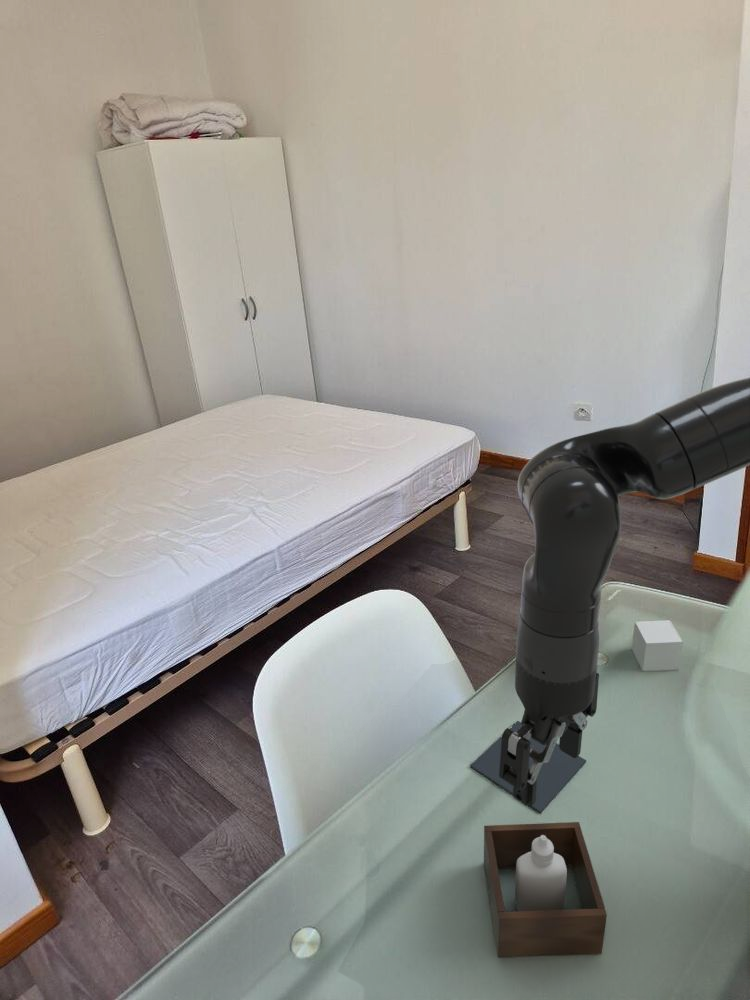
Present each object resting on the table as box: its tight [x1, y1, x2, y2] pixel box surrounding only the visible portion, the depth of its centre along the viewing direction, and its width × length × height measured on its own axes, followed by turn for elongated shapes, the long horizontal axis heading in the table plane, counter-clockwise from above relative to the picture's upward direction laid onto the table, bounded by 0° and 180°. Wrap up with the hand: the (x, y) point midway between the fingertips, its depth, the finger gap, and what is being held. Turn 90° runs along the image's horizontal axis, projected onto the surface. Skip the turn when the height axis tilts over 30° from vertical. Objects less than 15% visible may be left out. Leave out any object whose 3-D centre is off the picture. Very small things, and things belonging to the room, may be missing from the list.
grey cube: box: [631, 619, 684, 672], centre depth 118 cm, size 6×6×6 cm
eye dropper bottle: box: [514, 835, 568, 911], centre depth 79 cm, size 4×6×12 cm
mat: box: [470, 720, 587, 814], centre depth 101 cm, size 12×12×1 cm
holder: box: [483, 821, 608, 958], centre depth 81 cm, size 12×12×7 cm
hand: (547, 775), depth 72 cm, fingers open, 8 cm apart
